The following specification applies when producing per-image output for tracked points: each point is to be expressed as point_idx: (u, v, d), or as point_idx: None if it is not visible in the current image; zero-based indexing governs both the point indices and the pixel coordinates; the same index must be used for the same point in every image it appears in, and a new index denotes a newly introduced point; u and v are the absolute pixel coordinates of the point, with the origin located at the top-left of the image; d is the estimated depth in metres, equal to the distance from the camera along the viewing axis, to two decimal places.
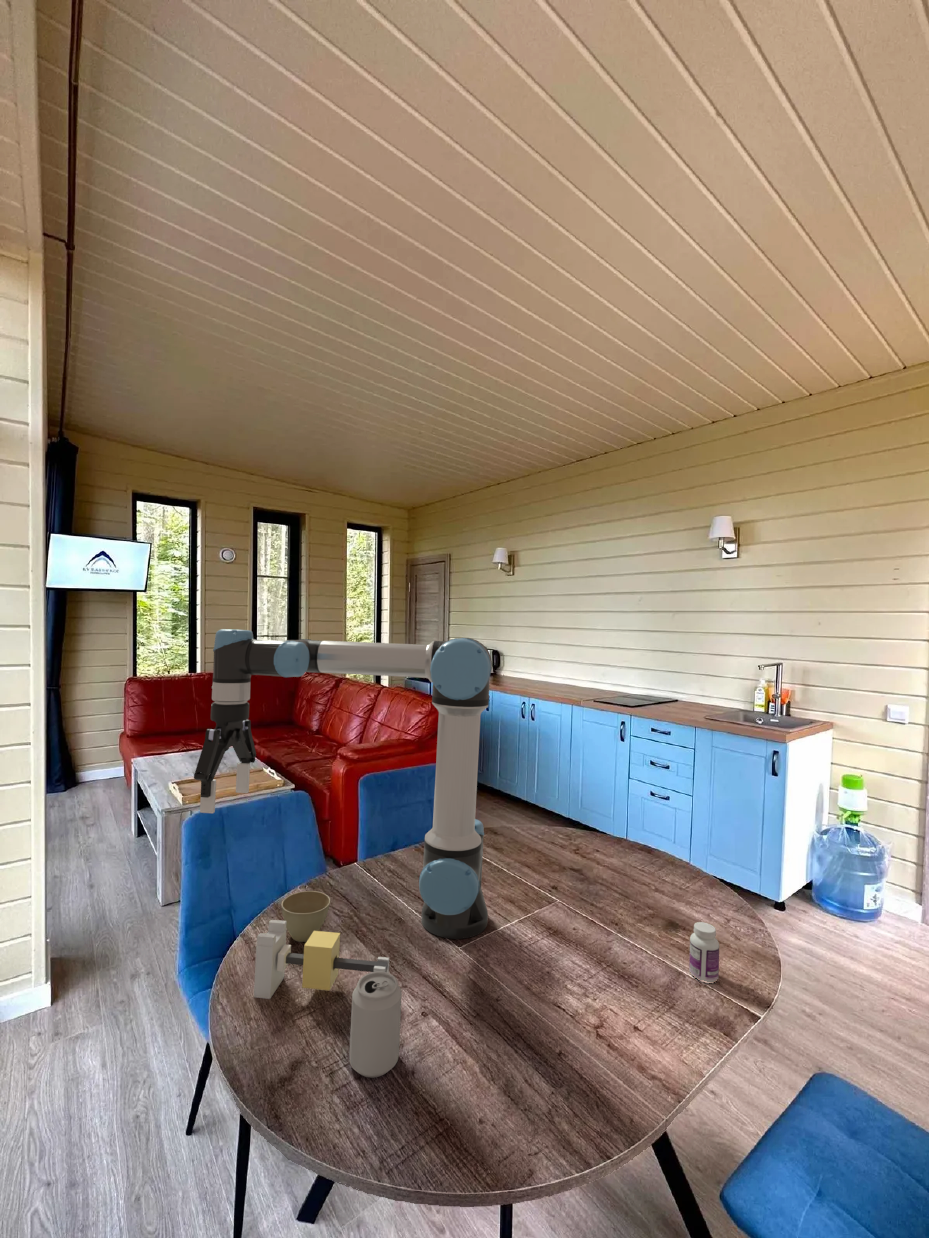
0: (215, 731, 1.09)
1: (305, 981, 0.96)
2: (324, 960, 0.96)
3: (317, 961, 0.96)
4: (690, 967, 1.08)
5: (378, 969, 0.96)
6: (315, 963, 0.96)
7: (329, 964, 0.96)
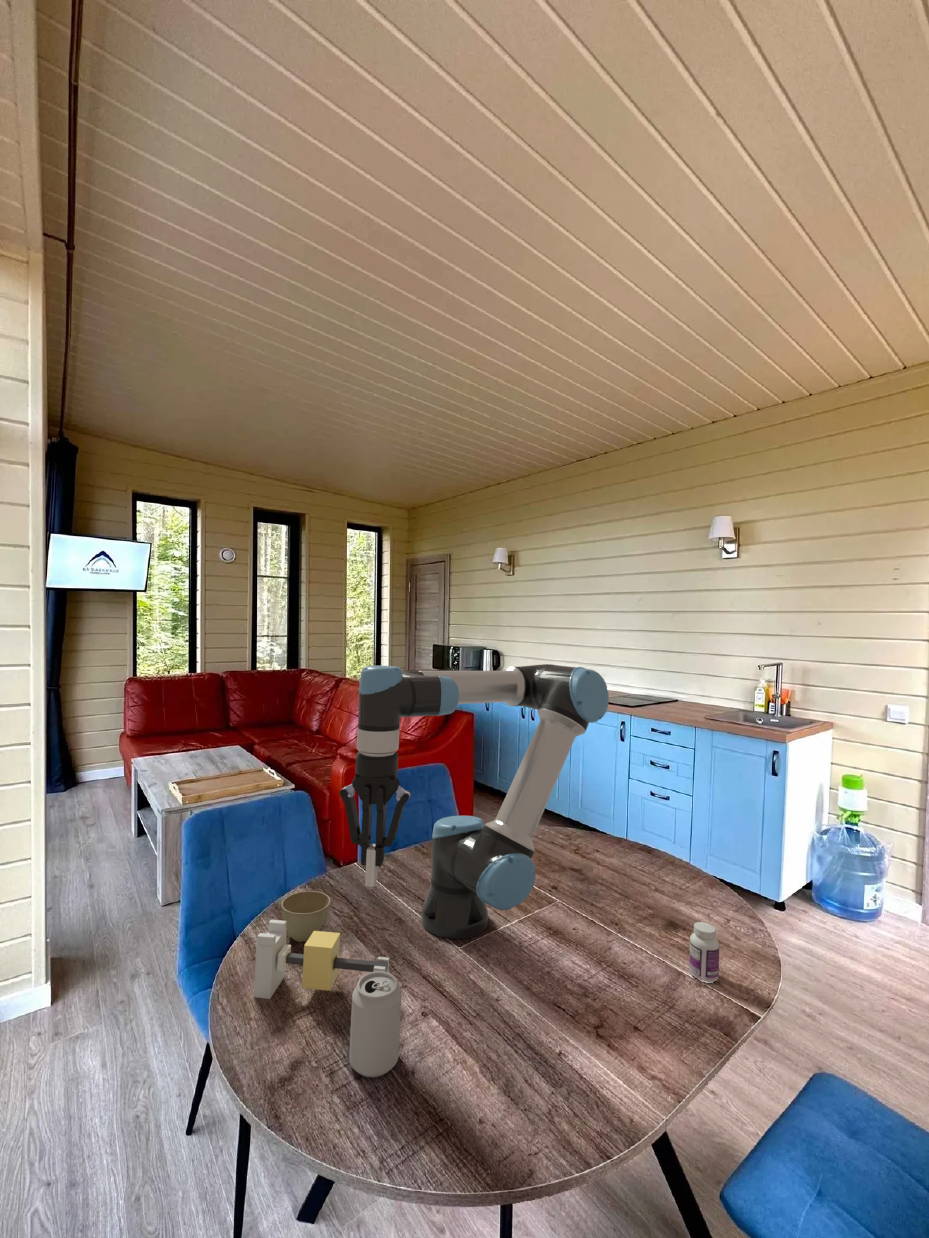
0: None
1: (305, 981, 0.96)
2: (324, 960, 0.96)
3: (317, 961, 0.96)
4: (690, 967, 1.08)
5: (378, 969, 0.96)
6: (315, 963, 0.96)
7: (329, 964, 0.96)
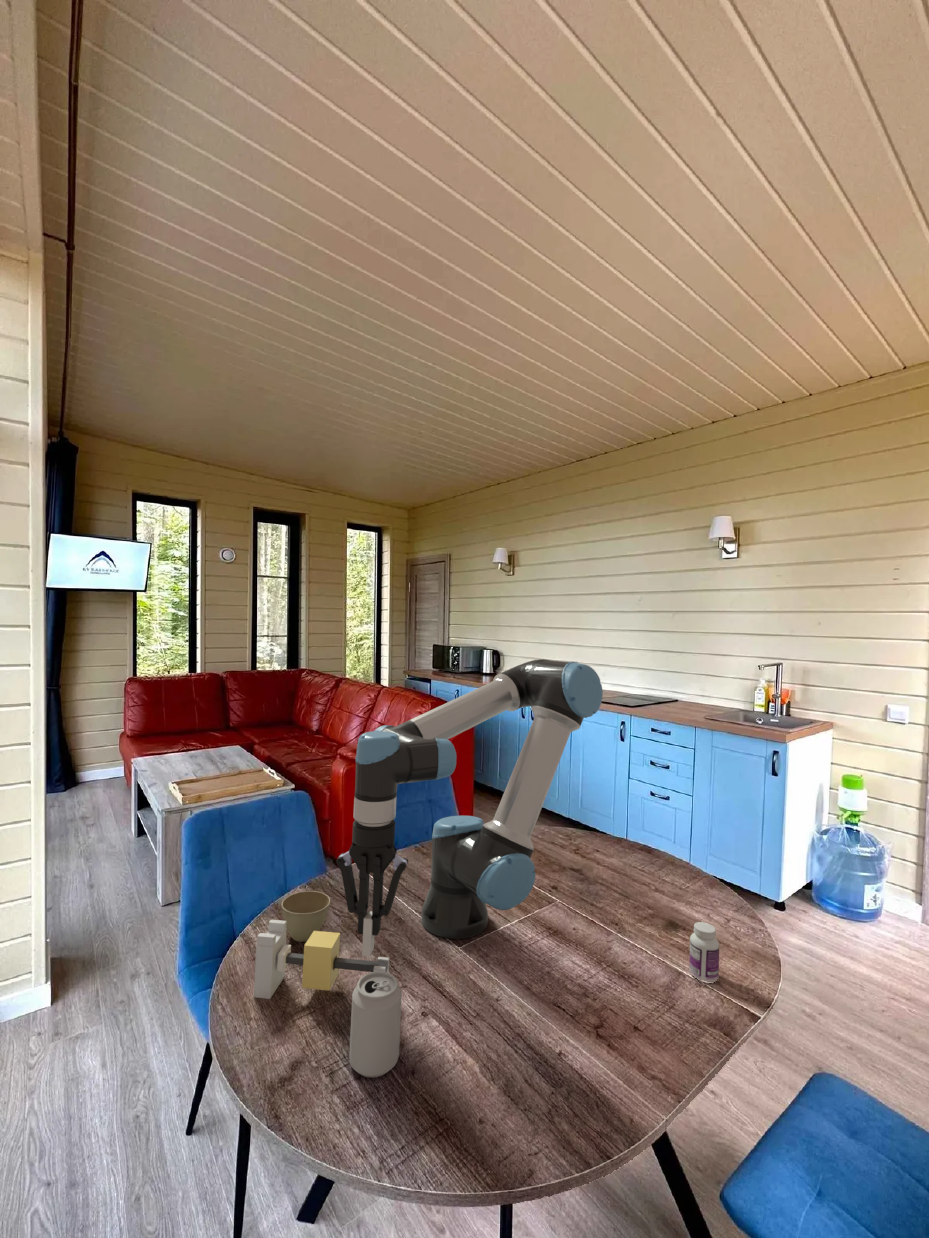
0: None
1: (305, 981, 0.96)
2: (324, 960, 0.96)
3: (317, 961, 0.96)
4: (690, 967, 1.08)
5: (378, 969, 0.96)
6: (315, 963, 0.96)
7: (329, 964, 0.96)
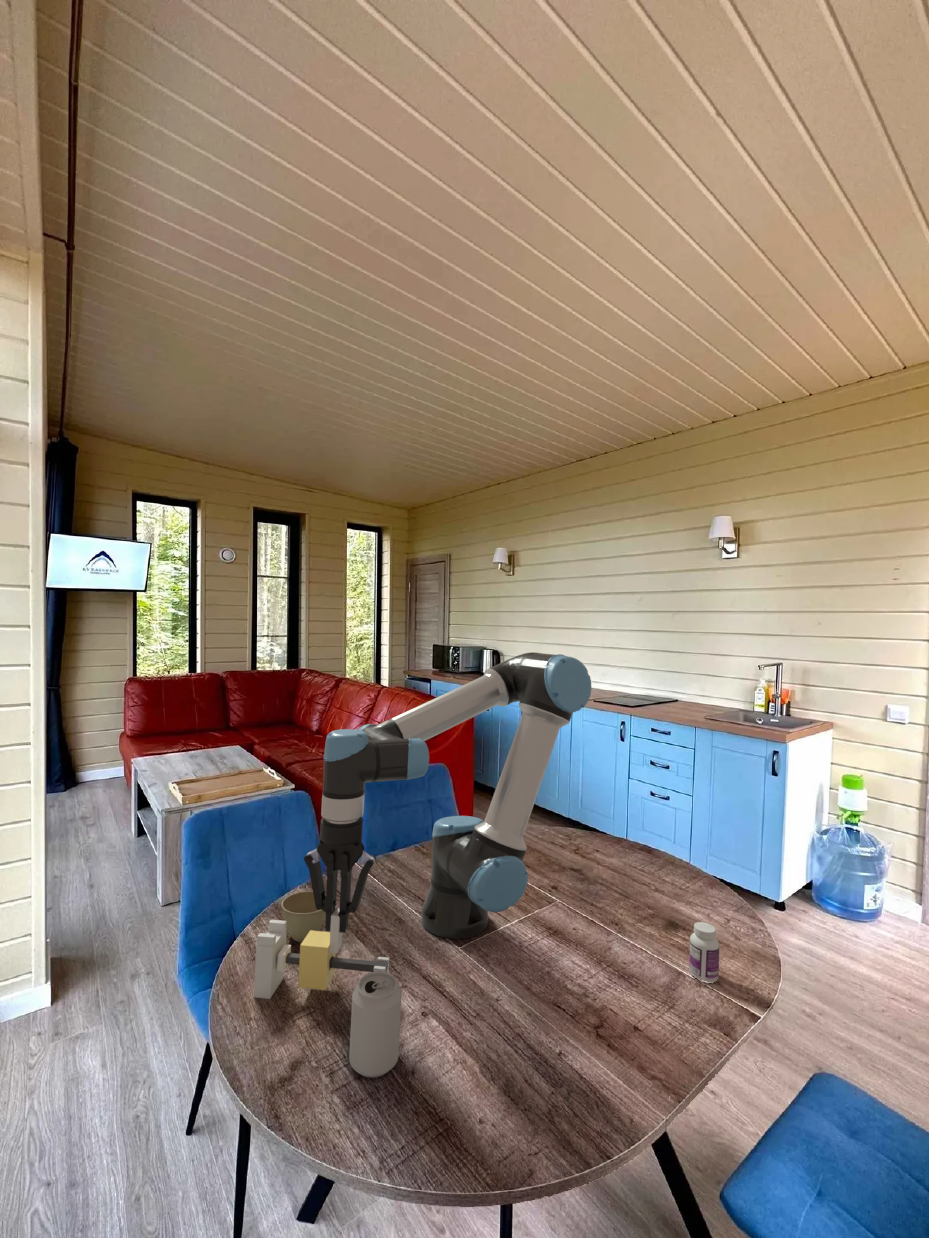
0: None
1: (301, 981, 0.96)
2: (320, 960, 0.96)
3: (313, 961, 0.96)
4: (690, 967, 1.08)
5: (378, 969, 0.96)
6: (311, 962, 0.96)
7: (325, 964, 0.96)
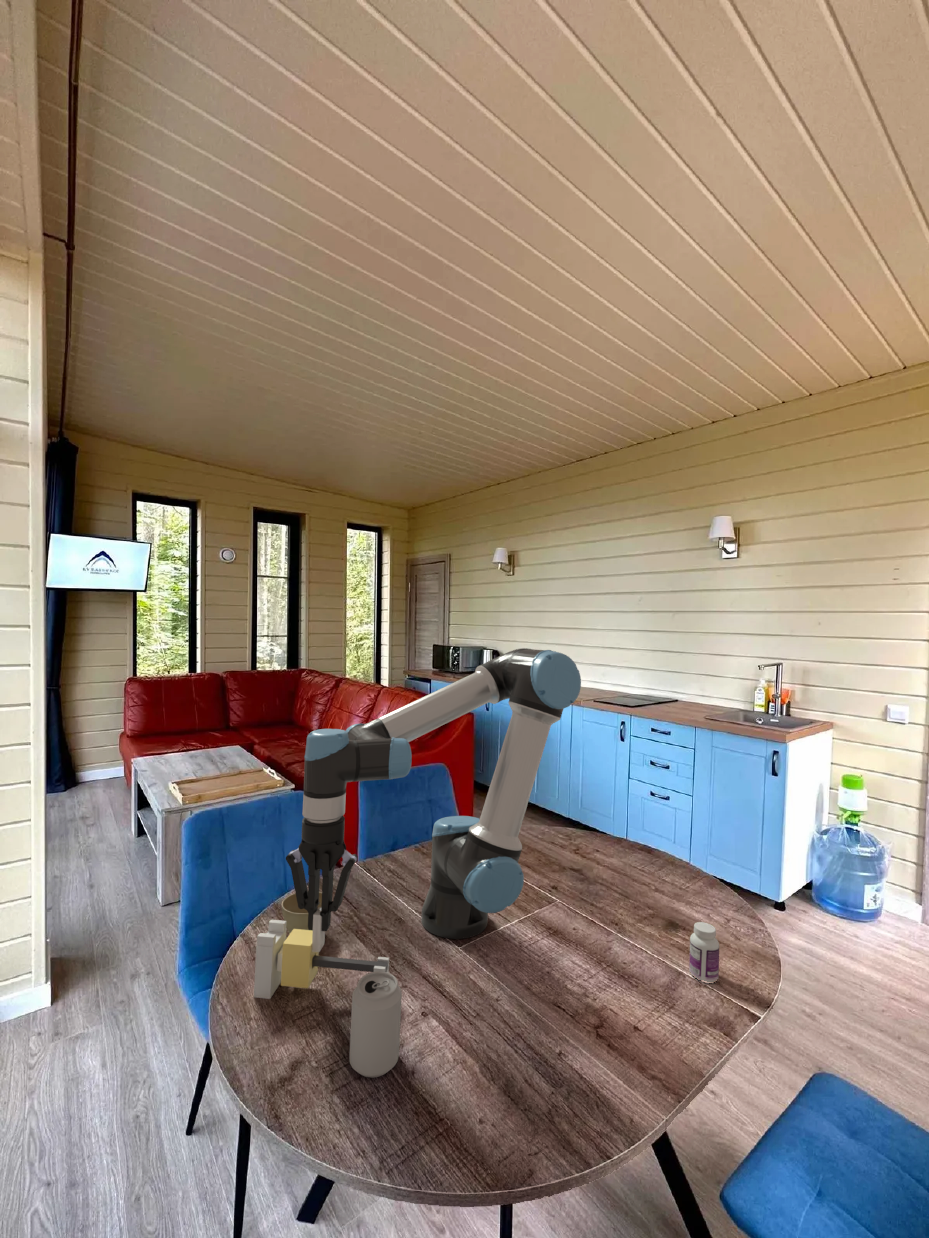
0: None
1: (284, 979, 0.97)
2: (303, 958, 0.96)
3: (296, 959, 0.97)
4: (690, 967, 1.08)
5: (378, 969, 0.96)
6: (293, 961, 0.97)
7: (308, 962, 0.96)
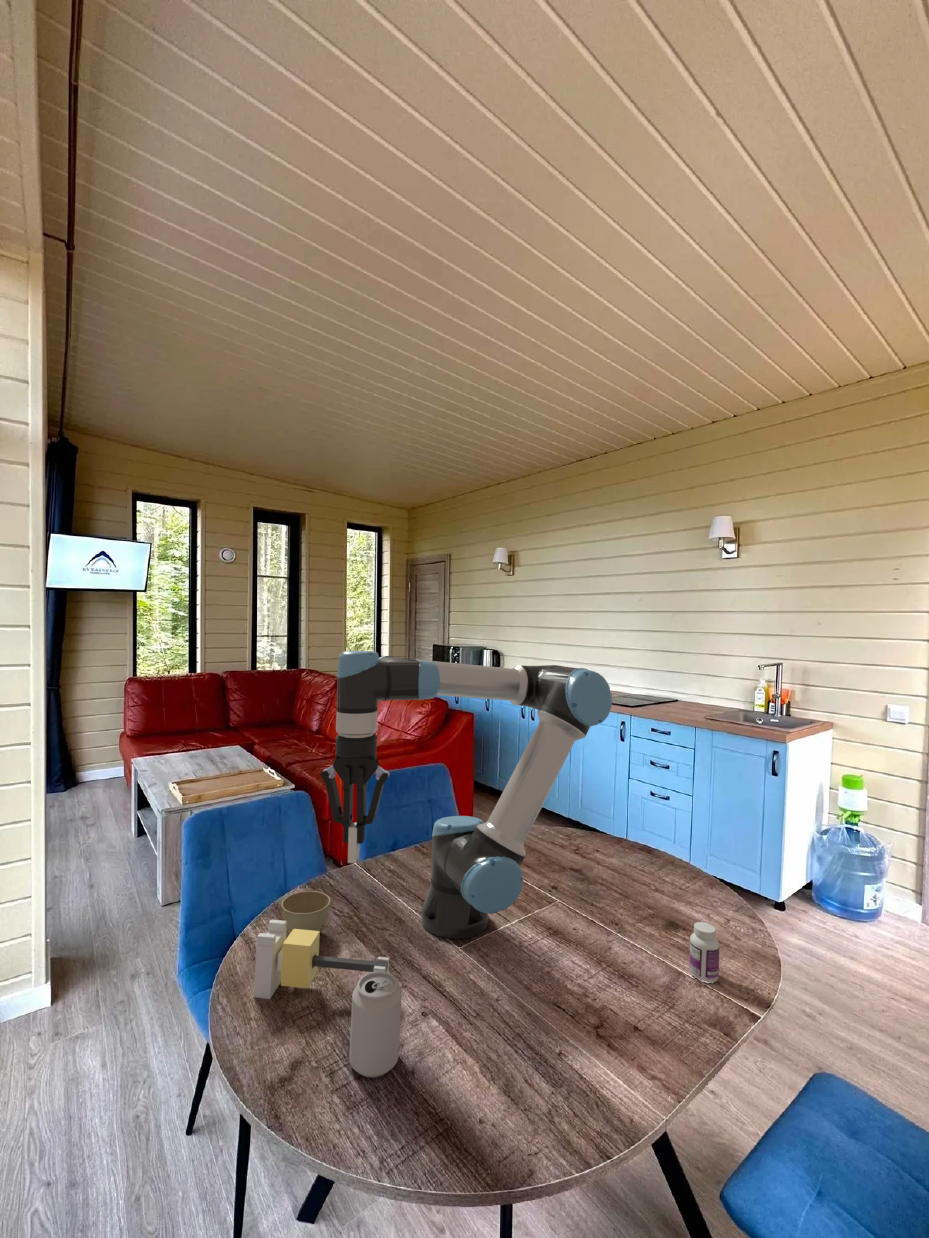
0: None
1: (284, 979, 0.97)
2: (303, 958, 0.96)
3: (296, 959, 0.97)
4: (690, 967, 1.08)
5: (378, 969, 0.96)
6: (293, 961, 0.97)
7: (308, 962, 0.96)
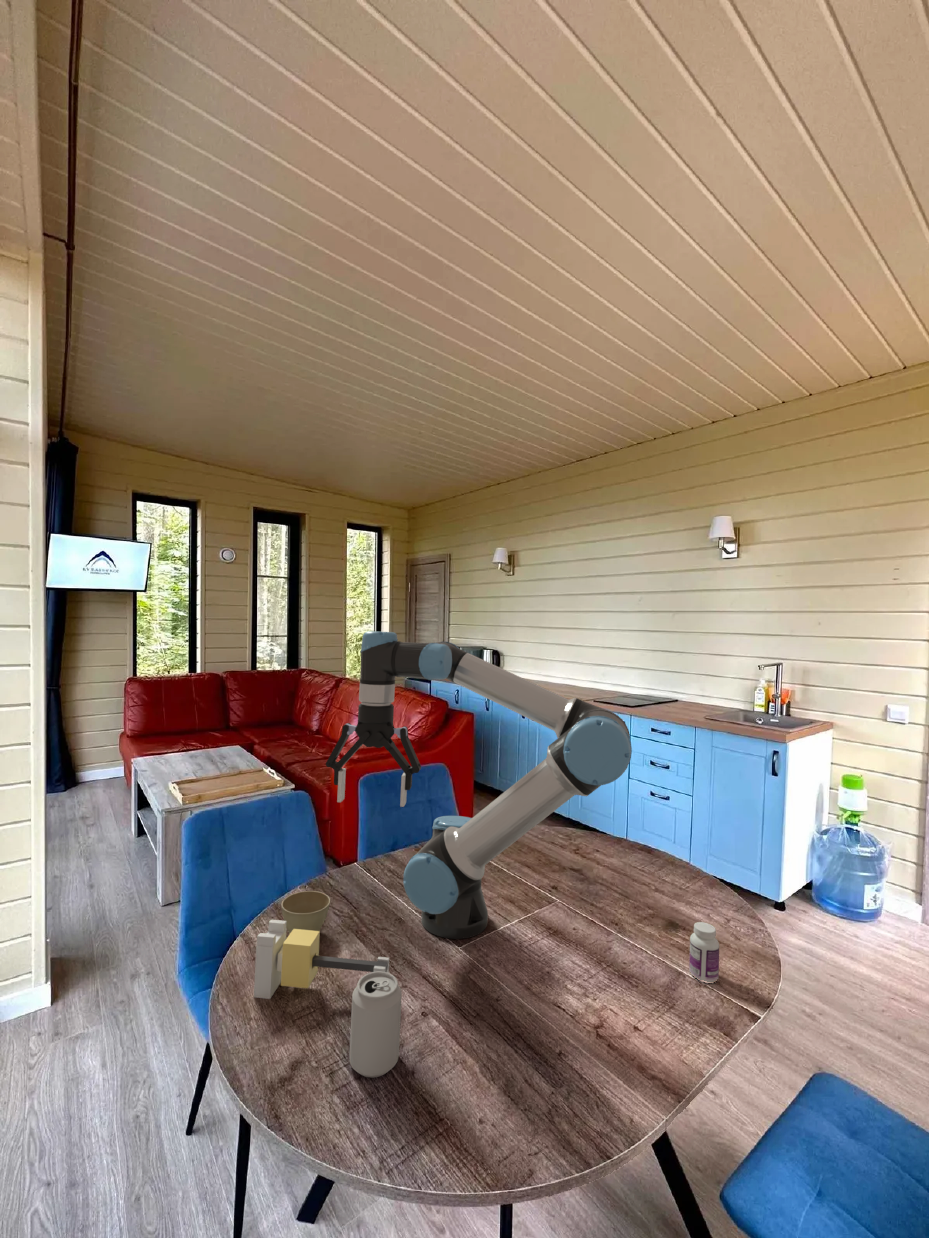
0: None
1: (284, 979, 0.97)
2: (303, 958, 0.96)
3: (296, 959, 0.97)
4: (690, 967, 1.08)
5: (378, 969, 0.96)
6: (293, 961, 0.97)
7: (308, 962, 0.96)
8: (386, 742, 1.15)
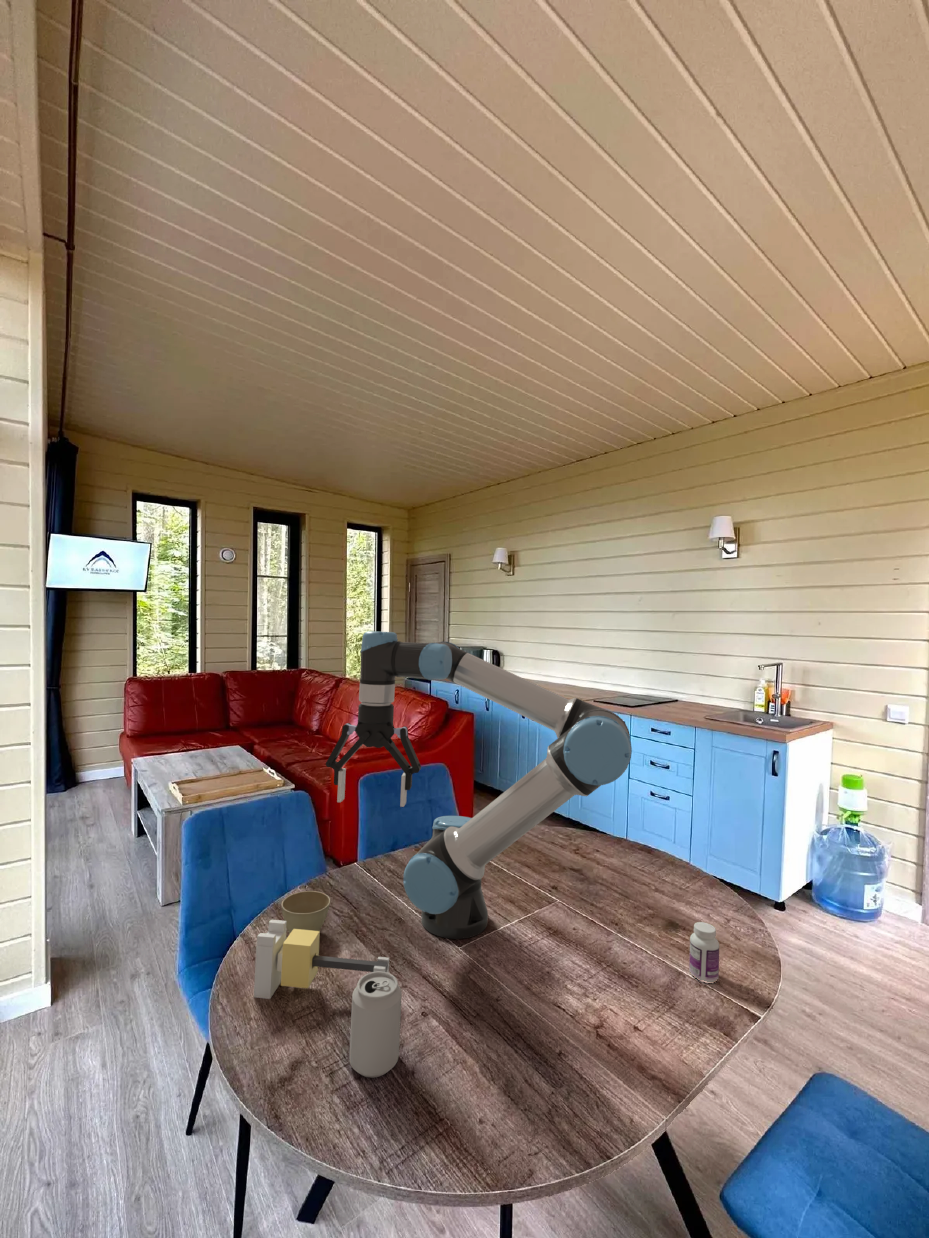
0: None
1: (284, 979, 0.97)
2: (303, 958, 0.96)
3: (296, 959, 0.97)
4: (690, 967, 1.08)
5: (378, 969, 0.96)
6: (293, 961, 0.97)
7: (308, 962, 0.96)
8: (386, 742, 1.15)
